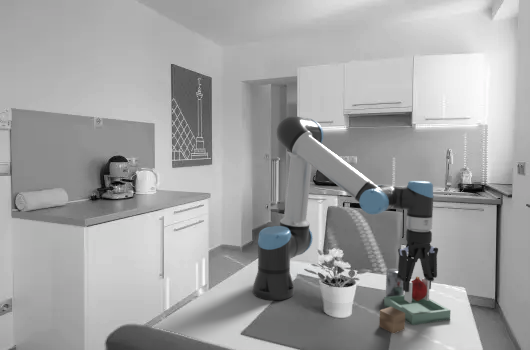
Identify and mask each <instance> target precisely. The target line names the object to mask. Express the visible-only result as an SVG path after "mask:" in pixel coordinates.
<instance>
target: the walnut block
mask: <svg viewBox="0 0 530 350" xmlns="http://www.w3.org/2000/svg"><path fill="white" fill-rule="evenodd" d="M405 325H406V320H405V313H404V312H402V311H400V310H397V309H395V308H393V307H388V308H387V307H385V308H382V309H380V310H379V323H378V326H379V328H382V329H383V330H385V331H388V332H389V333H391V334H396V333H398V332H402V331H404V330H405V328H406V327H405Z"/></svg>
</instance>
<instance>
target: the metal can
mask: <svg viewBox="0 0 530 350" xmlns="http://www.w3.org/2000/svg"><path fill="white" fill-rule="evenodd" d="M385 276H386V278H385V297H388V296H397V295H404V291H403V281H402V280H400V279H398V268H387V269H386V275H385Z"/></svg>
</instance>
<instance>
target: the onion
mask: <svg viewBox="0 0 530 350" xmlns="http://www.w3.org/2000/svg"><path fill="white" fill-rule="evenodd" d="M410 282H412V298H413V299H414V300H415V301H419V300H421V299H423V298H424V297H425V296H426V294H427V287H426V285H425V284H424V283H423V282H422V279H420V276H415V278H414V279H413V280H412V279H411V280H410Z"/></svg>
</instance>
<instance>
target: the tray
mask: <svg viewBox="0 0 530 350" xmlns="http://www.w3.org/2000/svg"><path fill="white" fill-rule="evenodd" d="M383 298H384V299H383V301H384V302H383V306H384V307H385V308H388V307H393V308H395V309H397V310H400V311H402V312H404V313H405V322H407V323H409V324H410V325H411V326H413V325H414V326H415V325H421V324H428V323H429V324H430V323H435V322H437V323H438V322H443V321H449V320H451V309H449V308H447V307H446V306H444V305H442V304H440V303H438V302H436V301H434V300H432V299H431V298H429V301H426V300H425V299H421V300H419V301H415V300H414V299H413V298H412V303H409V302H407V301H406V300H404V295H397V296H388V297H386V296H384V297H383Z"/></svg>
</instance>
